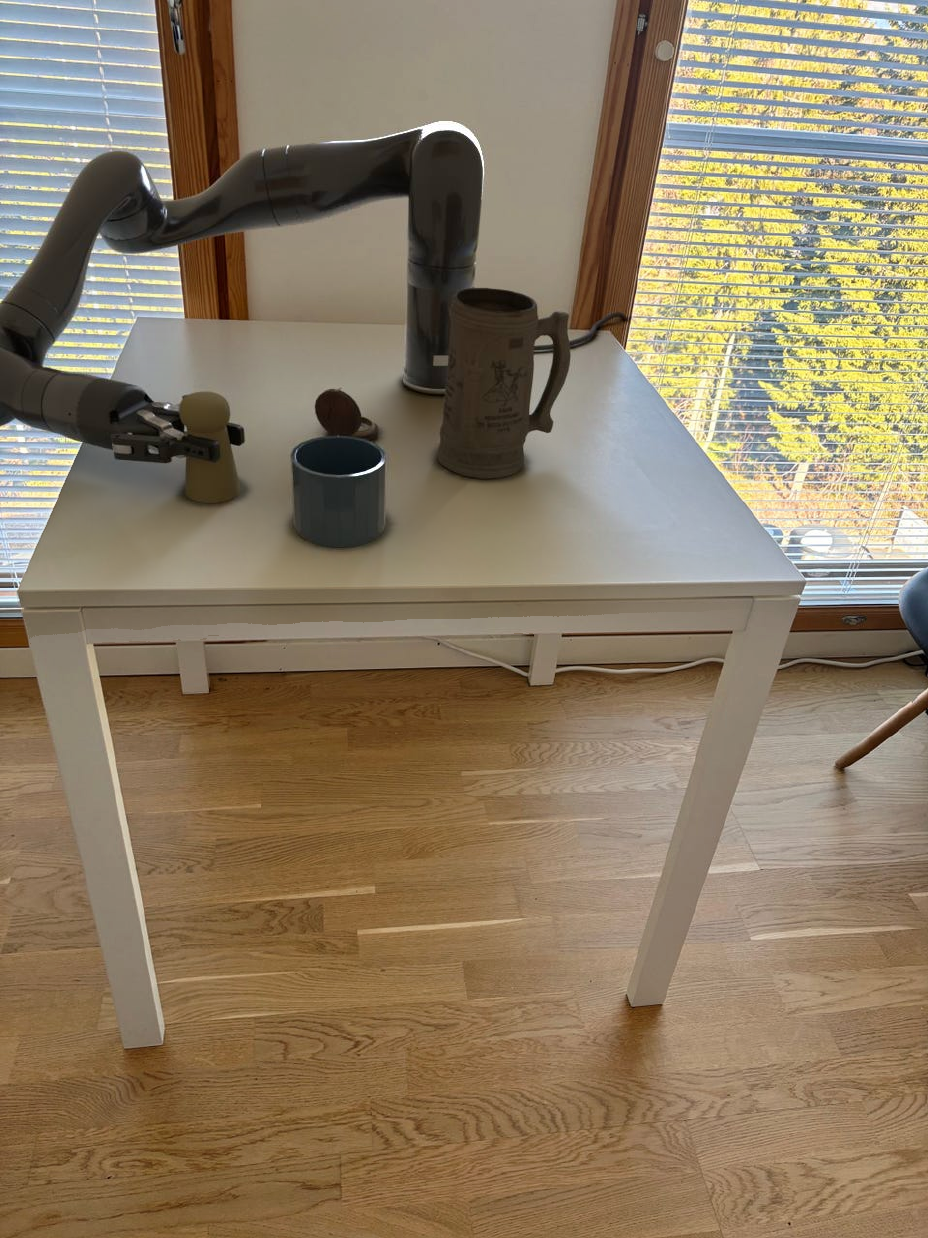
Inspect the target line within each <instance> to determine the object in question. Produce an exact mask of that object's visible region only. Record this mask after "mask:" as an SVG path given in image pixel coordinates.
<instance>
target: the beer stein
mask: <svg viewBox="0 0 928 1238" xmlns="http://www.w3.org/2000/svg"><path fill="white" fill-rule="evenodd" d="M449 316H450V319H451V333H450V346H449V357H448V368H447V378H446V387H445V394H444V399H443V410H442V411H443V413H442V421H441V422H442V423H441V425H440V429H439V439H440V440H439V445H438V449H437V459H438V461H439V463H440V464H441V465H442V466H444V468H446V469H448V470H450V471H451V472H454V473H456V474H458V475H460V476H464V477H470V478H476V479H499V478H504V477H509V476H511V475H515V474H516V473H518V472H520V471H521V470H522V468H523V466H524V464H525V451H524V445H525V443H526V439H527V436H528V434H529V433H531V432H535V431H538V432H542V433H545V434H549V433H552V429H553V427H554V420H553V418H552V415H551V411H552V408H553V406H554V403H555V402H556V400H557V398H558V396H559V394H560V393H561V391H562V390H563V387H564V385H565V382H566V380H567V378H568V377H567V376H568V374H569V371H570V365H571V355H572V354H571V346H570V343H569V341H570V339H569V333H568V331H569V329H568V328H569V327H568V325H569V318H570V314H569V313H568V312H565V311H557V310H555V311H553V312H552V313H551V315H549V316H547V317H542V318H539V313H538V304H537V302H536V300H535V299H534V298H532V297H531V296H529V295H526V294H523V293H520V292H516V291H514V290H509V289H501V288H489V287H474V288H467V289H462V290H459V291H457V292H455V294H454V295H453V297H452V302H451V306H450V308H449ZM541 336H543V337H544V336H547V337H549V338H550V339H551V341H552V344H553V349H552V361H551V366H550V369H549V374H548V375H549V376H548V378H547V381H546V384H545V387H544V389H543V392H542V394H541V397H540V399H539V401H538V403H537V404H536V407H535V408H534V410H533V412H532V413H530V412H531V411H530V409H531V398H532V390H533V383H534V382H533V380H534V371H535V356H534V354H535V350H534V345H535V343H536V341H537V340H538V339H539V338H540V337H541Z"/></svg>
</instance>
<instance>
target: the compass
mask: <svg viewBox="0 0 928 1238" xmlns="http://www.w3.org/2000/svg"><path fill="white" fill-rule="evenodd" d="M314 412H315V413H314V414H315V416H316V419H317V421H318V423H319V424H320V425H321V427H322V428H323V429H324V430H325V431H326V432H327V433H329V434H330V436H351V437H357V438H361V439H365V440H368V441H371V440H373V439H374V438H376V437H377V436H378V435H379V426H378V424H376V423H375V422H374V421H372V420H371V419H370V418H368V417H365V416H362V413H361V410H360V407H359V405H358V403H357V402H356V400H355V399H353V398H352V395H351V396H350V395H349V394H348V393H346V392H345V391H343V390H342V387H339V388H329V389H326V390H324V391H323V392H322V393H320V394H319V395H318V396H317V398H316V399H315V403H314Z"/></svg>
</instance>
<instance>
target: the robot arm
mask: <svg viewBox="0 0 928 1238" xmlns="http://www.w3.org/2000/svg"><path fill="white" fill-rule="evenodd" d="M474 135H475V134H473V133H472V132H471V130H469V129H468V128H467V127H465V126H464V125H462V124H460V123H457V122H453V121H438V122H433V123H431V124H427V125H424V126H421V127H420V126H419V127H417V128H413V129H409V130H407V131H403V132H399V133H395V134H390V135H387V136H383V137H377V138H370V139H362V140H334V141H322V142H321V141H319V142H309V143H308V142H307V143H298V144H287V145H282V146H275V147H274V146H273V147H268V148H260V149H256V150H253V151H250V152H248V153H246V154H245V155H243V156H242V157H241V158H239V159H238V160H237V161H236V162H234V163H233V164H232V165H231V166H230V167H229V168H228V169H227V170H226V171H225V172H224V173H223V174H222V175H221V176H220V177H219V178H218V179H217V180H216V181H215V182H213V184H211V186H209V187H207V189H205V190H204V191H202V192H200V193H198V194H195V195H192V196H188V197H184V198H180V199H173V200H162V197H161V196H160V194H159V191H158V189H157V187H156V185H155V183H154V181H153V179H152V176H151V175H150V173H149V172H148V169H147V167H146V166H145V164H144V162H143V161H142V160H141V159H140V158H139V157H138V156H137V155H136V154H134V153H132V152H129V151H126V150H111V151H106V152H103V153H101V154H99V155H97V156H95V157H94V158H92V159H91V160H90V161H89V162H88V163H87V164H86V165H85V166H84V167H83V168H82V169H81V171H80V172H79V174H78V175H77V176H76V177H75V180H74V181H73V183H72V185H71V187H70V189H69V190H68V193H67V195H66V197H65V199H64V201H63V203H61V206H60V208H59V209H58V212H57V214H56V216H55V218H54V219H53V221H52V224H51V226H50V228H49V229H48V232H47V234H46V235H45V237H44V240H43V241H42V243H41V246H40V247H39V249H38V250H37V253H36V255H35V256H34V257H33V259H32V261H31V262H30V264H29V265H28V266H27V268H26V270H25V271H24V272H23V274H22V275H21V276H20V278H19V279H18V281H16V283H14V285H13V286H12V288H11V289H10V290H9V291H8V293H7V294H6V295H5V296H4V298H3V299H2V300H1V301H0V427H3V426H5V425H7V424H10V423H11V422H13V421H15V420H17V421H18V422H20V423H22V424H24V425H25V426H29V427H30V428H34V429H38V430H40V431H41V430H42V431H45V432H49V433H54V434H57V435H60V436H62V437H63V436H64V437H65V438H67V439H70V440H72V441H76V442H80V443H83V444H86V445H91V446H95V447H99V448H103V449H107V450H110V451H113V456H114V457H113V458H114V459H115V460H119V461H129V462H130V461H131V462H144V463H154V464H170V463H172V461H173V459H172V458H174V457H175V458H178V459H186V457H187V456H189V457H193V458H197V459H201V460H206V461H210V462H217V461H218V460H220V458H221V454H220V445H219V443H218V442H217V441H215V440H211V439H207V438H203V437H197V436H193V435H190V434H188V435H187V427H186V426H185V425H184V424H183V423H182V421H181V418H180V413H179V407H180V403H177V404H173V403H170V402H167V401H166V402H165V401H164V402H163V401H154V400H153V399H152V398H151V397H150V396H149V395H148V394H147V392H146V391H145V389H143V388H142V387H141V386H138V385H135V384H132V383H127V382H124V381H119V380H114V379H111V378H106V377H102V376H97V375H92V374H88V373H82V372H72V371H71V372H69V371H66V370H61V369H57V368H53V367H49V366H44V363H45V360H46V356H47V353H48V352H49V351H50V350H51V348H52V347H53V346H54V345H55V343H56V342H57V341H58V339H59V338H60V337H61V335H62V334H63V333H64V331H65V330H66V328H67V327H68V326H69V324H70V323H71V321H72V320H73V319H74V317H75V314H76V313H77V311H78V308H79V306H80V302H81V299H82V296H83V292H84V288H85V282H86V277H87V272H88V267H89V263H90V258H91V255H92V253H93V249H94V247H95V243H96V240H97V238H98V236H99V234H100V236H101V238H102V240H103V241H104V242H105V244H106V245H107V246H108V247H109V248H110V249H111V250H113V251H115V252H117V253H120V254H125V255H139V254H146V253H150V252H155V251H161V250H164V249H169V248H172V247H176V246H180V245H184V244H187V243H188V244H189V243H193V242H196V241H199V240H205V239H208V238H214V237H219V236H225V235H231V234H237V233H243V232H249V231H250V232H251V231H255V230H262V229H263V230H264V229H275V228H276V229H277V228H284V227H292V226H300V225H304V224H305V225H306V224H311V223H315V222H320V221H323V220H327V219H331V218H333V217H336V216H339V215H343V214H346V213H348V212H351V211H353V210H355V209H358V208H361V207H364V206H366V205H370V204H372V203H376V202H382V201H387V200H394V199H395V200H397V199H404V198H405V199H408V203H407V258H406V259H407V260H406V289H405V290H406V292H405V293H406V295H405V296H406V297H405V323H404V325H405V326H404V328H405V329H404V357H403V358H404V361H403V362H404V363H403V364H404V365H403V375H402V383H403V385H405V386H406V387H407V388H409V389H411V390H413V391H414V392H415V391H416V392H419V393H423V394H429V395H445V387H446V378H447V368H448V357H449V346H450V333H451V319H450V316H449V308H450V306H451V302H452V297H453V295H454V294H455V292H457V291H459V290H462V289H467V288H475V281H476V280H475V279H476V268H477V267H476V265H477V256H478V255H477V253H478V246H479V240H480V227H481V216H482V215H481V214H482V202H483V190H484V175H485V170H484V169H485V168H484V167H485V165H484V158H483V155H482V150H481V147H480V143H479V141H478V140H477V138H476V137H475V136H474ZM614 318H620V319H621V320H622V321H628V318H627V316H626V315H625V313H623V312H620V311H616V312H612V313H609V314H608V315H606V316H604V317H603V318H601V319H600V320H597V321H596V322H595V323H594V324H593V325H592V326H591V328H590V331H589V332H588V333H587V334H584V335H582V336H580V337H578V338H574V339H572V340H569V343H570V347H571V346H575V345H578V344H581V343H583V342H586V341H587V340H589V339H591V338H592V337H593V336H594V335H595V333H596V331H597V329H598V328H599V327H600V326H602V325H604V324H605V323H608V322H609V321H610V320H612V319H614ZM548 350H553V343H549V344H536V345H535V344H534V351H548ZM187 395H188V394H184V395H182V396H181V400H182V399H183V398H184V397H185V396H187ZM226 427H227V431H228V436H229V440H230V444H231V446H237V447H240V446H242V445H244V444H245V442H246V437H245V428H244V426H243V425H241V424H238V423H234V422H230V421H229V422H228V424H227V425H226ZM185 428H186V430H185ZM150 450H152V451H154V452H156V453H154V452H151V451H150Z"/></svg>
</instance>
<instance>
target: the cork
mask: <svg viewBox="0 0 928 1238" xmlns="http://www.w3.org/2000/svg"><path fill="white" fill-rule="evenodd" d="M186 395H187V396H185V397H184V398H183V399H182V398H181V401H180V403H179V404H180V407H179V413H180V418H181V421H182V423H183V424H184V426H185V428H186V427H187V429H186V431H187V435H188V434H190V435H193V436H197V437H203V438H207V439H211V440H215V441H217V442H218V443H219V445H220V454H221V458H220V460H218V461H217V462H210V461H206V460H201V459H197V458H193V457H189V456H187V457H185V483H184V486H185V487H184V491H185V496H186V497H187V498H188V499H190V500H192V501H194V502H198V503H204V504H220V503H223V502H228V501H230V500H233V499H235V498H236V497H238V496H239V495H240V493H241V491H242V488H241V483H240V478H239V475H238V471H237V466H236V461H235V458H234V453H233V449H232V444H230V440H229V436H228V431H227V427H226V425H227V424H228V422H230V420H231V407H230V404H229V401H228V400H227V399H226V398H225V396H223V395H221V394H219V393H217V392H213V391H195V392H192V393H189V394H186Z"/></svg>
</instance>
